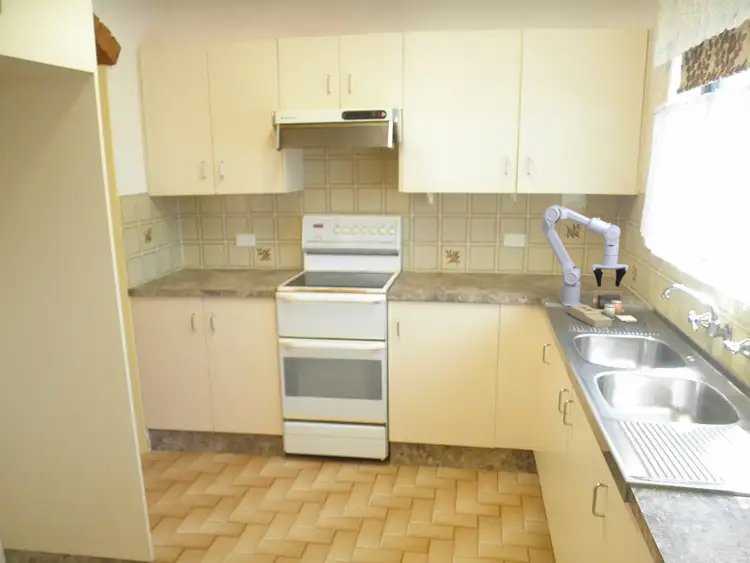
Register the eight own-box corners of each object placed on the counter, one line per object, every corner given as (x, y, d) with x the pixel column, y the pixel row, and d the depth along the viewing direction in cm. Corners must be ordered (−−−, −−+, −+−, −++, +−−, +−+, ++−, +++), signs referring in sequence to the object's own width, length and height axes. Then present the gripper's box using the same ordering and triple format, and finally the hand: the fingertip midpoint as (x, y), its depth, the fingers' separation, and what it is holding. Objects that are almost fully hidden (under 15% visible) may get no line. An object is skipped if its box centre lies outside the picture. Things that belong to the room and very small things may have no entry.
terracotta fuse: (608, 313, 237) (609, 299, 236) (617, 313, 237) (619, 299, 236) (611, 316, 233) (613, 302, 232) (621, 316, 233) (623, 302, 232)
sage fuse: (601, 317, 232) (603, 303, 231) (611, 317, 232) (613, 303, 231) (605, 320, 228) (606, 306, 227) (615, 320, 228) (617, 306, 227)
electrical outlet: (595, 318, 219) (570, 305, 237) (594, 328, 220) (569, 315, 238) (612, 316, 221) (585, 304, 238) (611, 327, 222) (584, 313, 239)
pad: (615, 317, 233) (615, 315, 233) (630, 316, 233) (630, 315, 233) (621, 321, 227) (621, 320, 227) (637, 321, 227) (637, 319, 227)
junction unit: (590, 308, 244) (592, 290, 242) (619, 308, 244) (621, 290, 242) (595, 312, 240) (596, 293, 238) (624, 312, 239) (626, 293, 237)
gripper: (624, 252, 244) (621, 283, 247) (589, 253, 244) (587, 284, 247) (631, 255, 237) (628, 287, 240) (595, 256, 237) (593, 288, 241)
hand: (608, 286), depth 243 cm, fingers open, 7 cm apart
